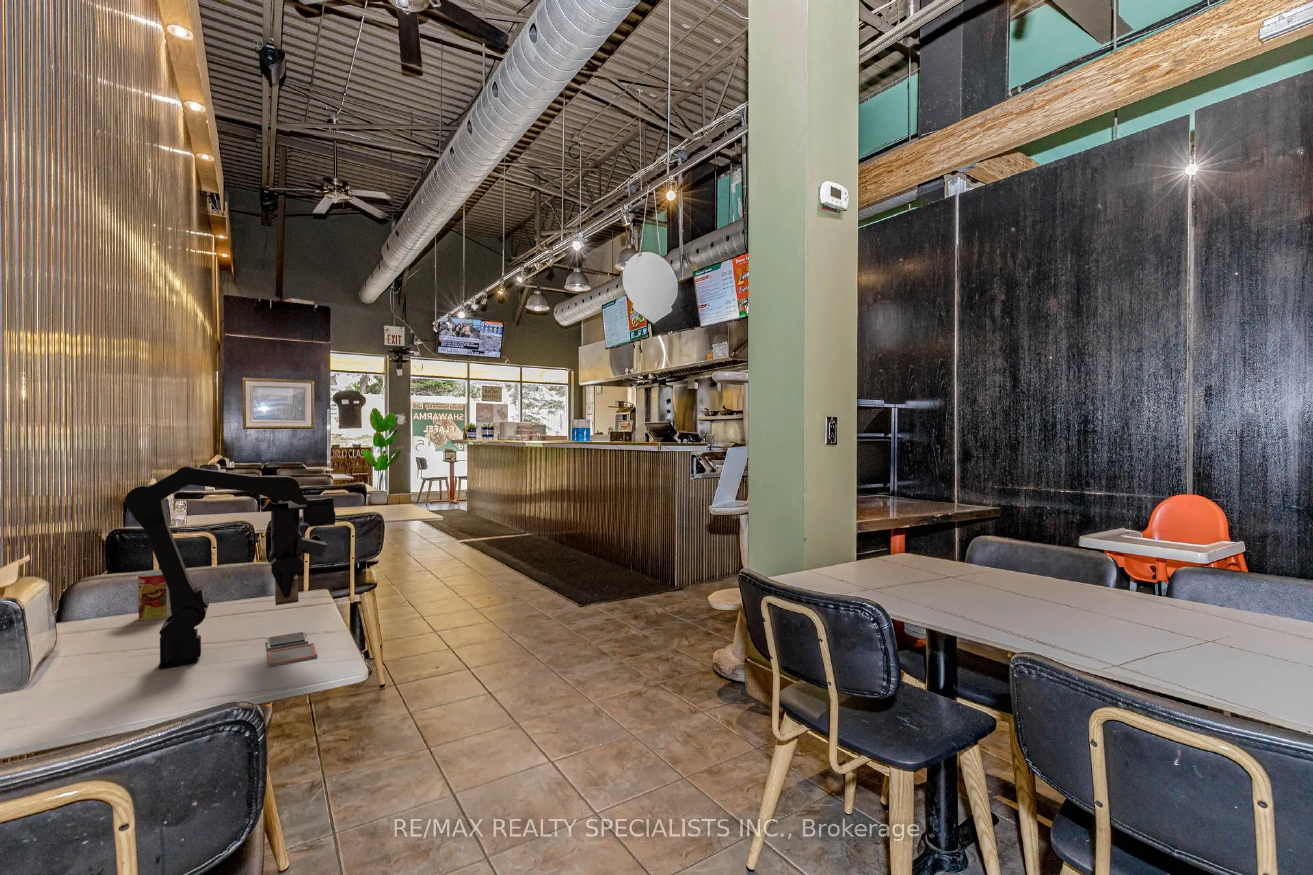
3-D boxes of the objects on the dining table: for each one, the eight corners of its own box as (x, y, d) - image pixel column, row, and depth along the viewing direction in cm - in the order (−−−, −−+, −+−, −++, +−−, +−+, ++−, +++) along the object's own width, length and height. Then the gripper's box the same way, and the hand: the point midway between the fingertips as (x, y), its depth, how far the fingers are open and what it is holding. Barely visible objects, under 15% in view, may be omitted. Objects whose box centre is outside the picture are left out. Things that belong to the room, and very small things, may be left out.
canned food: (144, 614, 165) (144, 570, 165) (180, 610, 168) (179, 567, 168) (134, 622, 158) (133, 576, 158) (171, 618, 161) (170, 573, 161)
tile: (268, 666, 127) (268, 663, 127) (267, 653, 135) (267, 651, 135) (317, 657, 132) (317, 654, 132) (313, 645, 140) (313, 642, 140)
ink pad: (267, 651, 136) (267, 646, 136) (266, 641, 143) (266, 636, 143) (308, 644, 140) (308, 639, 140) (305, 634, 147) (305, 630, 147)
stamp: (275, 605, 138) (275, 579, 138) (275, 600, 142) (274, 575, 142) (298, 602, 141) (298, 576, 141) (297, 597, 144) (296, 572, 144)
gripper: (328, 531, 138) (329, 598, 138) (320, 521, 153) (321, 581, 154) (271, 536, 132) (272, 606, 132) (269, 525, 147) (270, 588, 147)
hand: (286, 594), depth 141 cm, fingers closed on stamp, 4 cm apart
